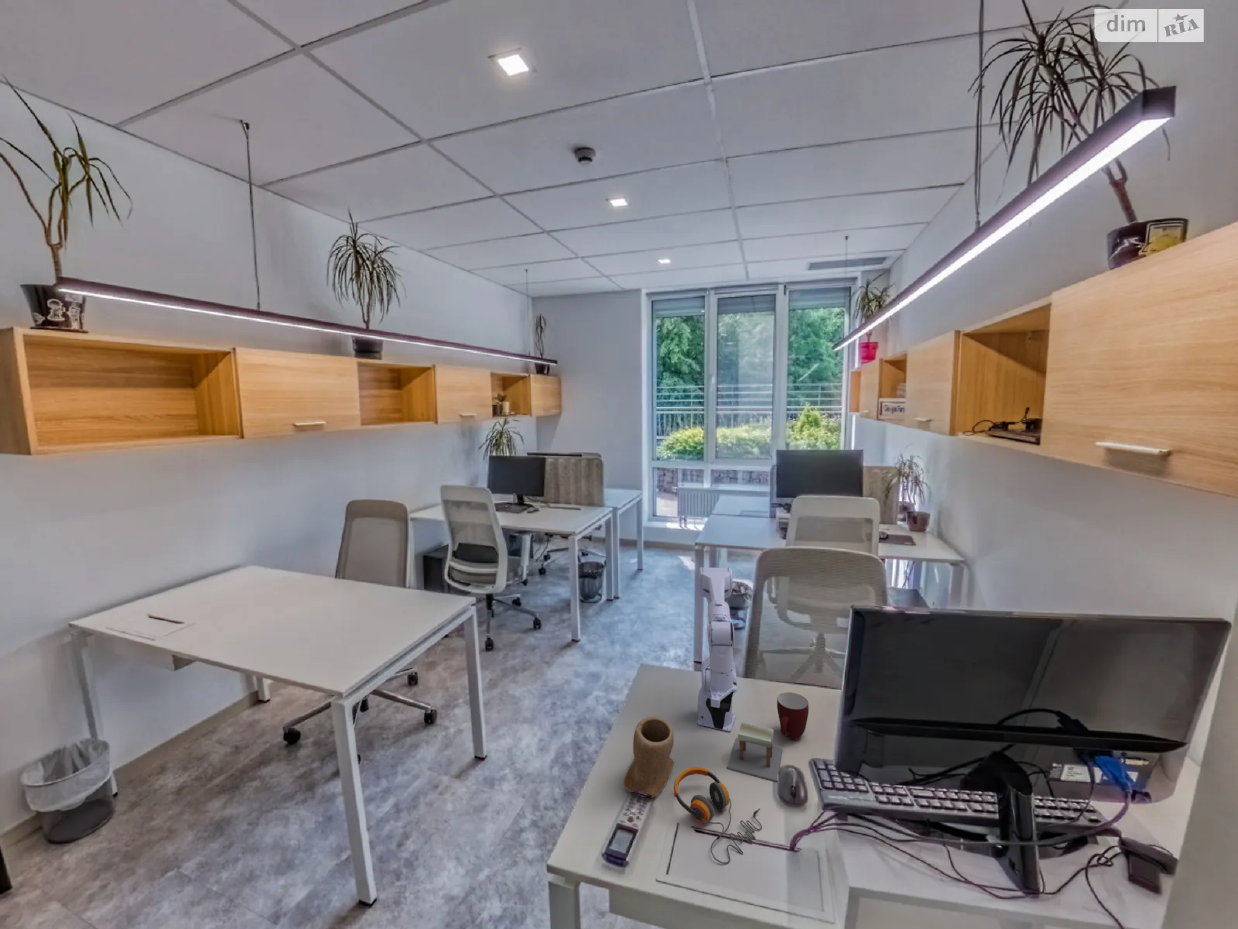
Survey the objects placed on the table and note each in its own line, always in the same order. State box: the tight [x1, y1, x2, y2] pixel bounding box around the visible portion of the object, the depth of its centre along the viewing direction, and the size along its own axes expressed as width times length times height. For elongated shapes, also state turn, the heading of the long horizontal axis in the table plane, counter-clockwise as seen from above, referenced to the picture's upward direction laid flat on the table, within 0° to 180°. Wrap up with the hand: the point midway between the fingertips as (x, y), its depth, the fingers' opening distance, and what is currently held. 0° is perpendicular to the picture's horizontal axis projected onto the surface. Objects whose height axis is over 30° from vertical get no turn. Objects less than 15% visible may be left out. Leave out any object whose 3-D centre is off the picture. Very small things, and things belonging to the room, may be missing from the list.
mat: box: [726, 737, 784, 783], centre depth 123 cm, size 12×12×1 cm
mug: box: [776, 691, 810, 741], centre depth 131 cm, size 10×8×10 cm
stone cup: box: [622, 716, 675, 798], centre depth 117 cm, size 15×12×15 cm
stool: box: [737, 722, 774, 767], centre depth 123 cm, size 5×8×7 cm, turn 65°
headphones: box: [673, 766, 763, 865], centre depth 106 cm, size 17×5×20 cm
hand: (722, 719), depth 124 cm, fingers open, 7 cm apart
